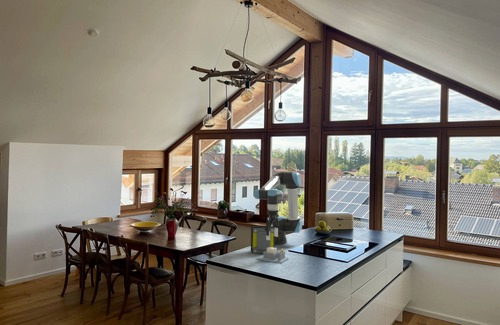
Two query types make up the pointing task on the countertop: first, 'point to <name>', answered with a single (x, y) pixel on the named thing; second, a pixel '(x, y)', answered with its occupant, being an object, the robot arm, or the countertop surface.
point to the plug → (272, 250)
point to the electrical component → (261, 239)
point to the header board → (274, 257)
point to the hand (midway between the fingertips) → (272, 238)
